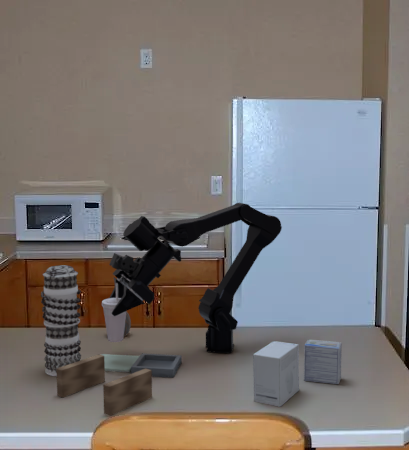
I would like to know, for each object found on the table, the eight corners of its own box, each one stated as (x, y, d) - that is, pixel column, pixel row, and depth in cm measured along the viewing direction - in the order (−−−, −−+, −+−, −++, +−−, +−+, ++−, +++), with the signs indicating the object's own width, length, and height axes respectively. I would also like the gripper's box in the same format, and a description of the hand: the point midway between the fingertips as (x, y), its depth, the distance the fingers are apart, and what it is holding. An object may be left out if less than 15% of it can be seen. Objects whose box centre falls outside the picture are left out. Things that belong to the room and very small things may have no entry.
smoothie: (133, 340, 157) (133, 284, 155) (109, 345, 154) (109, 288, 151) (120, 333, 162) (120, 279, 160) (97, 338, 159) (96, 282, 157)
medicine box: (341, 378, 149) (342, 342, 148) (338, 385, 145) (339, 347, 144) (307, 374, 151) (307, 338, 150) (303, 381, 147) (304, 344, 146)
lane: (99, 379, 148) (98, 354, 148) (152, 397, 138) (151, 370, 137) (57, 395, 139) (56, 368, 138) (110, 415, 129) (109, 386, 128)
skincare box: (272, 385, 145) (272, 339, 144) (299, 390, 142) (300, 344, 140) (251, 401, 136) (252, 352, 135) (280, 407, 133) (280, 358, 131)
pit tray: (181, 363, 159) (181, 355, 159) (173, 377, 149) (173, 369, 149) (142, 361, 161) (141, 353, 161) (131, 375, 151) (131, 367, 151)
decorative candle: (57, 361, 161) (53, 262, 157) (90, 366, 157) (87, 264, 154) (35, 374, 152) (31, 269, 149) (70, 378, 149) (66, 272, 146)
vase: (133, 332, 185) (132, 302, 184) (128, 339, 179) (127, 308, 177) (109, 331, 186) (108, 301, 185) (103, 338, 179) (102, 307, 178)
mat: (140, 358, 163) (140, 355, 163) (129, 372, 153) (129, 369, 153) (102, 356, 165) (101, 354, 164) (88, 369, 155) (88, 367, 155)
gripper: (119, 236, 165) (77, 282, 162) (140, 247, 148) (93, 299, 145) (150, 264, 169) (109, 310, 166) (173, 278, 151) (128, 329, 149)
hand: (109, 311), depth 156 cm, fingers closed on smoothie, 6 cm apart
